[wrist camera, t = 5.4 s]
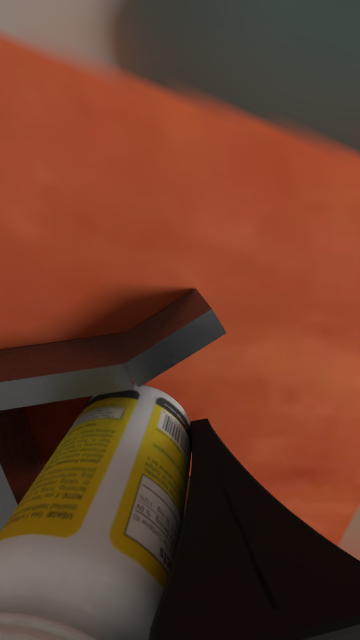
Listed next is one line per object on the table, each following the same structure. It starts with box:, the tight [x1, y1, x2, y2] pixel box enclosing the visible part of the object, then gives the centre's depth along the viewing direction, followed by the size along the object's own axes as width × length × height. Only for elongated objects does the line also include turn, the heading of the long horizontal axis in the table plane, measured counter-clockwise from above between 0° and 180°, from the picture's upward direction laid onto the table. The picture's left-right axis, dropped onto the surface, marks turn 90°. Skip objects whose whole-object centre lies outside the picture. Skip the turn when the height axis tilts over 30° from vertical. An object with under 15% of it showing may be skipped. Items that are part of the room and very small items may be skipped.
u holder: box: [0, 288, 226, 531], centre depth 12 cm, size 12×9×2 cm
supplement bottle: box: [0, 383, 192, 640], centre depth 9 cm, size 5×5×8 cm
